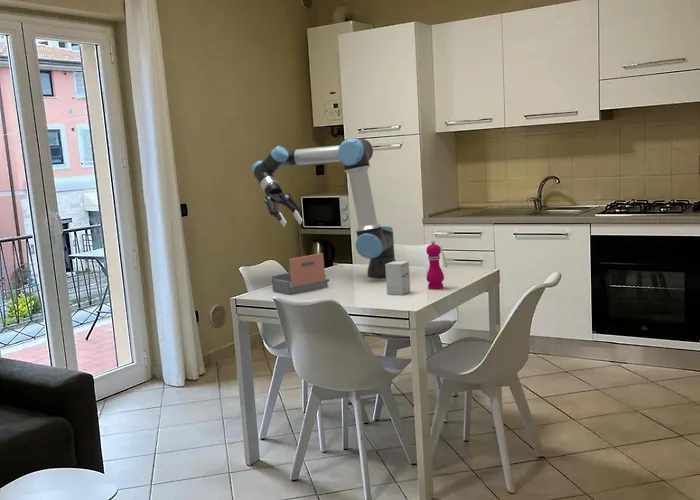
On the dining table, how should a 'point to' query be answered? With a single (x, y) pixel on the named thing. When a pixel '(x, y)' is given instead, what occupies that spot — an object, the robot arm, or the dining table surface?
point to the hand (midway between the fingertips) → (293, 223)
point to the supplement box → (397, 277)
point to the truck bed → (283, 285)
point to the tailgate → (307, 269)
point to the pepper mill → (434, 267)
